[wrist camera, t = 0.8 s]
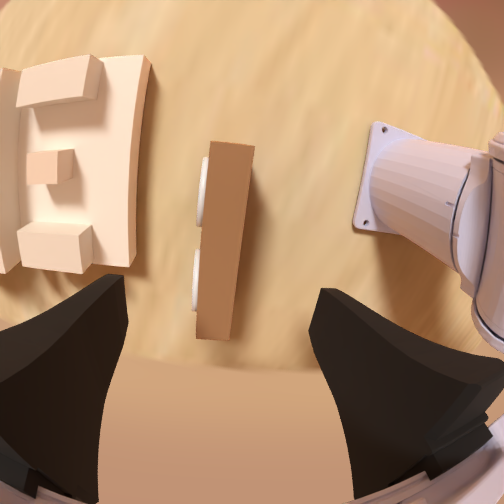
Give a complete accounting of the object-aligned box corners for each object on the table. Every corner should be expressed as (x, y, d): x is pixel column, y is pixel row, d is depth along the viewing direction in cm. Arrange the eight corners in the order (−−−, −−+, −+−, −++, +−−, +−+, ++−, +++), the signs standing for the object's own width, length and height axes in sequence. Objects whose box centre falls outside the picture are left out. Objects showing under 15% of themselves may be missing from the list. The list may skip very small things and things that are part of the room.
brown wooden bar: (243, 144, 16) (254, 146, 12) (224, 296, 21) (229, 340, 16) (206, 140, 16) (204, 140, 12) (194, 294, 20) (190, 338, 16)
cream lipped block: (151, 63, 13) (130, 39, 9) (136, 254, 18) (116, 289, 14) (29, 79, 12) (-10, 72, 7) (27, 244, 16) (-6, 272, 12)
